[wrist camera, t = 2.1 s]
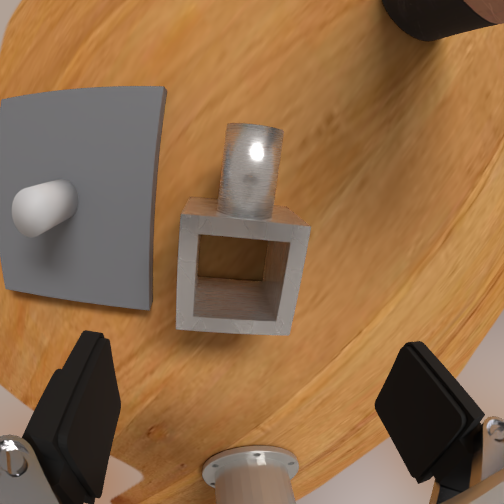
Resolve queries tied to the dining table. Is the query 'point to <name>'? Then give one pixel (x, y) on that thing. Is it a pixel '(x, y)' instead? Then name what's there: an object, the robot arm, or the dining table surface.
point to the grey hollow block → (243, 226)
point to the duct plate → (81, 193)
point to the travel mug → (443, 16)
